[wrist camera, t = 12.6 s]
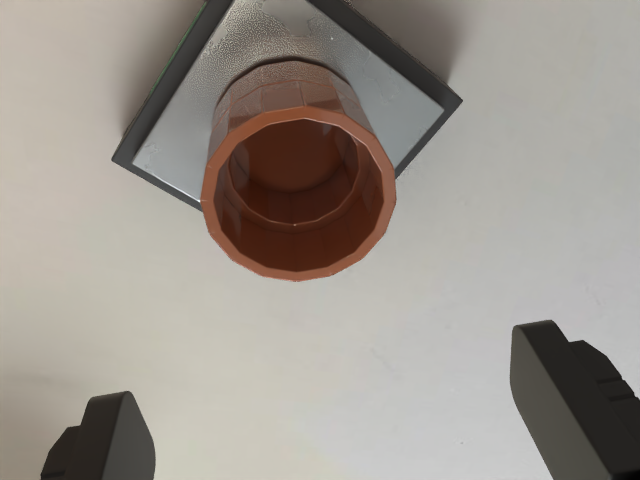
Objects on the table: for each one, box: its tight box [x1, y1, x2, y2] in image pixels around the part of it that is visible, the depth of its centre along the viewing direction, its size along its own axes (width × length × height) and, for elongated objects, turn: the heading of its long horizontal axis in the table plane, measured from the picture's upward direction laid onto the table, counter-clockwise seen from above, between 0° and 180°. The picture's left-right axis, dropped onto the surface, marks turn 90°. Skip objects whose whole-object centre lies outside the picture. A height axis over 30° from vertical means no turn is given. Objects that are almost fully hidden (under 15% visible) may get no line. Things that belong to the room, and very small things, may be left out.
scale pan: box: [131, 0, 445, 202], centre depth 25 cm, size 10×10×1 cm
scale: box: [111, 0, 463, 212], centre depth 26 cm, size 11×11×2 cm
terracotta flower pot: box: [200, 61, 397, 282], centre depth 22 cm, size 6×6×6 cm
